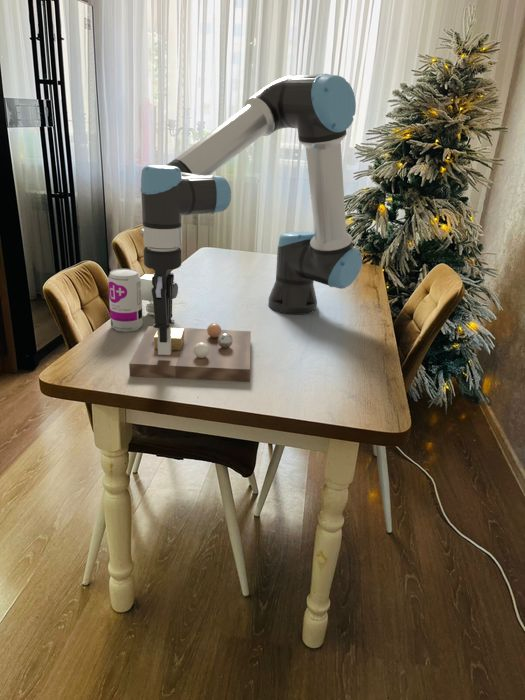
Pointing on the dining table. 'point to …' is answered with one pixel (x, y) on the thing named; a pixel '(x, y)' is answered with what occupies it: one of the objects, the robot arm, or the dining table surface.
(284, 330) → the dining table surface
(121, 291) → the supplement can
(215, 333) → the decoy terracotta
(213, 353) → the board
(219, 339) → the steel ball
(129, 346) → the dining table surface
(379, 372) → the dining table surface
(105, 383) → the dining table surface
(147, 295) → the pneumatic valve
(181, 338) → the block
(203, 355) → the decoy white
